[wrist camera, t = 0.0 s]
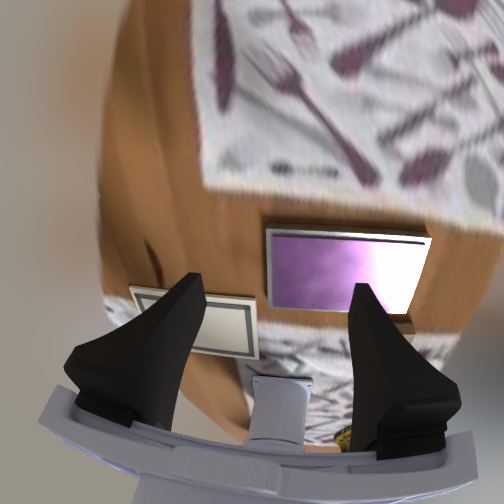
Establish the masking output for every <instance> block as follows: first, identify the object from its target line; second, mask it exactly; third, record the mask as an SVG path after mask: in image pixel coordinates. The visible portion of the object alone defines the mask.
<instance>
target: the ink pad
mask: <svg viewBox="0 0 504 504" xmlns="http://www.w3.org/2000/svg"><path fill="white" fill-rule="evenodd" d="M431 239H432V238H431V237H430V235H429V233H428V232H422V231H409V230H396V229H382V228H367V227H351V226H333V225H314V224H293V223H269V222H268V223H267V226H266V247H267V283H268V308H277V309H292V310H309V311H330V312H349V308H350V304H351V300H352V296H353V291H354V287H355V283H368V284H369V285H370V286H371V288H372V290H373V292H374V293H375V295H376V297H377V298H378V300H379V301H380V303H381V305H382V306H383V308H384V309H385V311H386V312H387V313H406V311H407V309H408V306H409V304H410V301H411V298H412V296H413V293H414V290H415V288H416V285H417V282H418V279H419V276H420V274H421V271H422V268H423V265H424V262H425V258H426V255H427V252H428V249H429V245H430V242H431Z"/></svg>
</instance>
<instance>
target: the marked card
mask: <svg viewBox="0 0 504 504" xmlns="http://www.w3.org/2000/svg"><path fill="white" fill-rule="evenodd" d="M129 289H130V292H131V294H132V297H133V299H134V302H135V304H136V307H137V309H138V311H139V314H141V313H142V312H144V311H145V310H146V309H148V308H149V307H150V306H151V305H153V304H154V303H155V302H156V301H157V300H159V299H160V298H161V297H162V296H163V295H164V294H166V293H167V292H168V291H169V290H165V289H156V288H147V287H139V286H131V285H130V287H129ZM205 296H206V301H207V307H206V311H205V315H204V318H203V322H202V325H201V327H200V330H199V332H198V334H197V337H196V339H195V342H194V344H193V347H192V349H191V351H192V352H198V353H204V354H211V355H218V356H226V357H234V358H242V359H251V360H259V341H258V325H257V308H256V298H249V297H236V296H225V295H213V294H205Z"/></svg>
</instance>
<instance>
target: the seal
mask: <svg viewBox="0 0 504 504" xmlns="http://www.w3.org/2000/svg"><path fill="white" fill-rule="evenodd" d="M351 428H352V426H350V427H347V428H345V429H343V430H342V431H340V432H339V433H338V434H337V435H336V436H335V437H334V440H335V443H336V444H337V445H338V446H339V447H340V449H341V453H349V446H350V438H351Z"/></svg>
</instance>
